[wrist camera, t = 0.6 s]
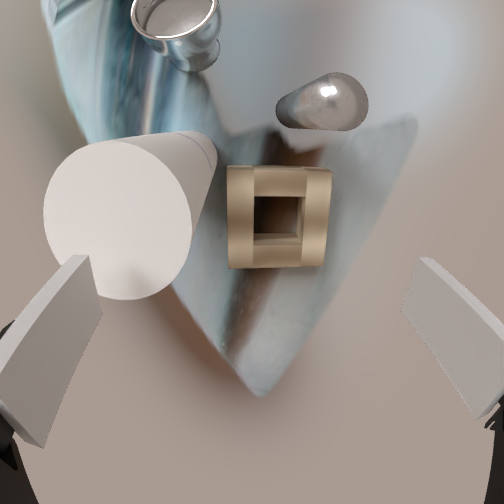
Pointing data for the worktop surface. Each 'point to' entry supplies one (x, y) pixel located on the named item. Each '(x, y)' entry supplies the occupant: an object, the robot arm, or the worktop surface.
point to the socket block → (277, 244)
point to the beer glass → (180, 30)
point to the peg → (325, 104)
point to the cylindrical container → (130, 208)
